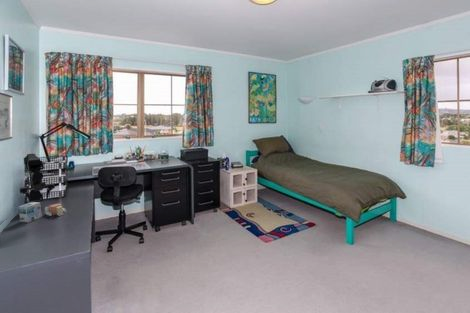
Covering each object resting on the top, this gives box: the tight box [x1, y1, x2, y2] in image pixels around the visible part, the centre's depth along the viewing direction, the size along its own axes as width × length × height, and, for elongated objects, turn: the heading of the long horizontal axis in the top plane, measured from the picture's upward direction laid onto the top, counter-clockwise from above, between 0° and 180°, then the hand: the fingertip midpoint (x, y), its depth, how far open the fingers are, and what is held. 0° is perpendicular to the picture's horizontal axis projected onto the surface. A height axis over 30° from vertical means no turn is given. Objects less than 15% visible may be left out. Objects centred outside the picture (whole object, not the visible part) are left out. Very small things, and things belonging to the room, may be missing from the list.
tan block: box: [44, 205, 67, 217], centre depth 195 cm, size 7×10×5 cm
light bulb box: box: [18, 201, 43, 223], centre depth 183 cm, size 11×7×11 cm, turn 168°
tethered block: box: [48, 203, 64, 217], centre depth 193 cm, size 11×6×6 cm, turn 56°
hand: (39, 200), depth 180 cm, fingers open, 9 cm apart
